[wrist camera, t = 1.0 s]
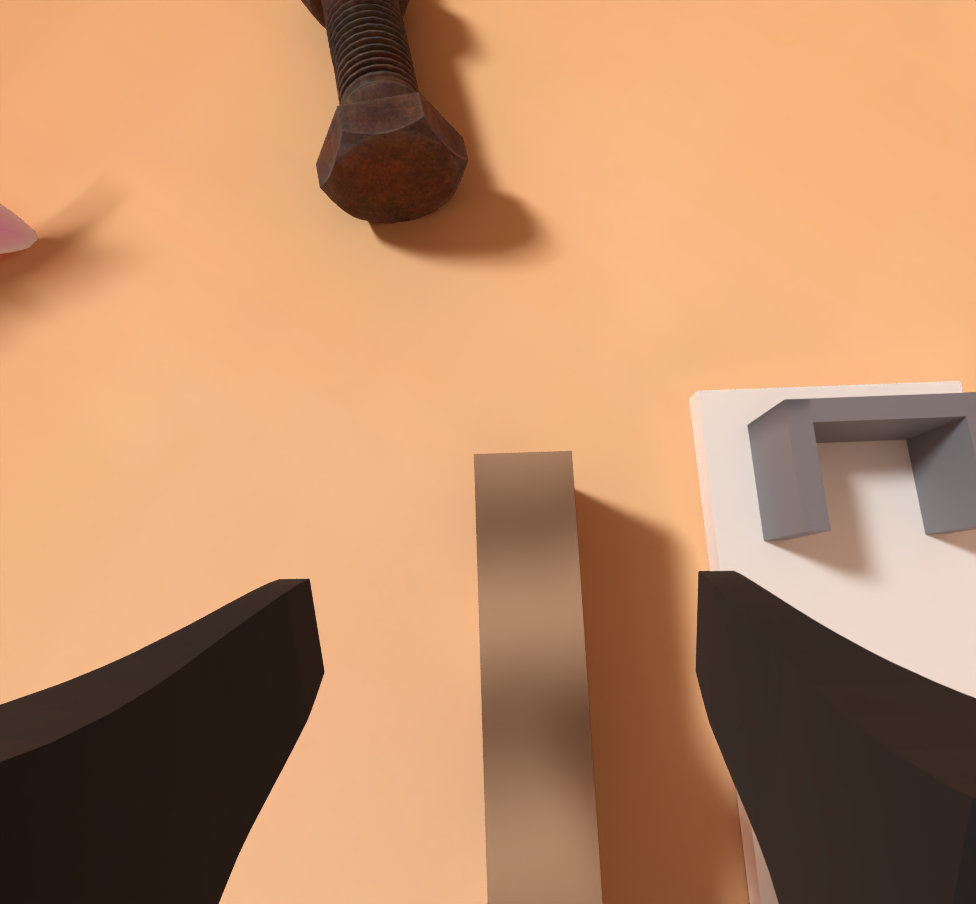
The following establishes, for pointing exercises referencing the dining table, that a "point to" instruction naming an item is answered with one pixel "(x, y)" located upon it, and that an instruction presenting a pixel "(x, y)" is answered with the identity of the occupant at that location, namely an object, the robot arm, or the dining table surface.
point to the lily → (14, 232)
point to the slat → (534, 684)
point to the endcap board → (849, 520)
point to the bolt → (382, 119)
